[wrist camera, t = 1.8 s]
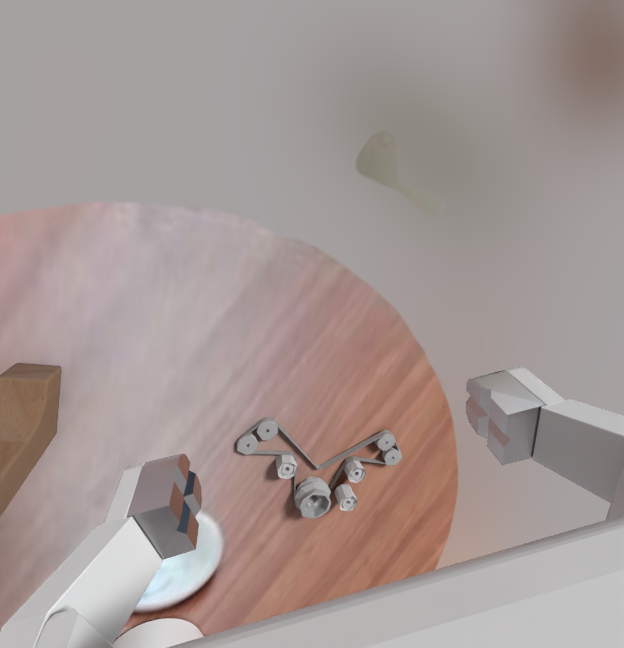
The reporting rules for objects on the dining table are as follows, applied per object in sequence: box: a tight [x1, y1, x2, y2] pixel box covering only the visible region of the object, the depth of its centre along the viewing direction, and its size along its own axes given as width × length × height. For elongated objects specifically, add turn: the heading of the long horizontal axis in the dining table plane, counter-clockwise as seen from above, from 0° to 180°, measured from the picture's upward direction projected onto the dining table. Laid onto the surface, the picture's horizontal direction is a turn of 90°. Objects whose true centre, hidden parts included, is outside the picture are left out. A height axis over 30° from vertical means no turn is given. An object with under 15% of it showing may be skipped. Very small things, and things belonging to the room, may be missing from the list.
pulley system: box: [237, 417, 402, 519], centre depth 55 cm, size 27×5×15 cm
